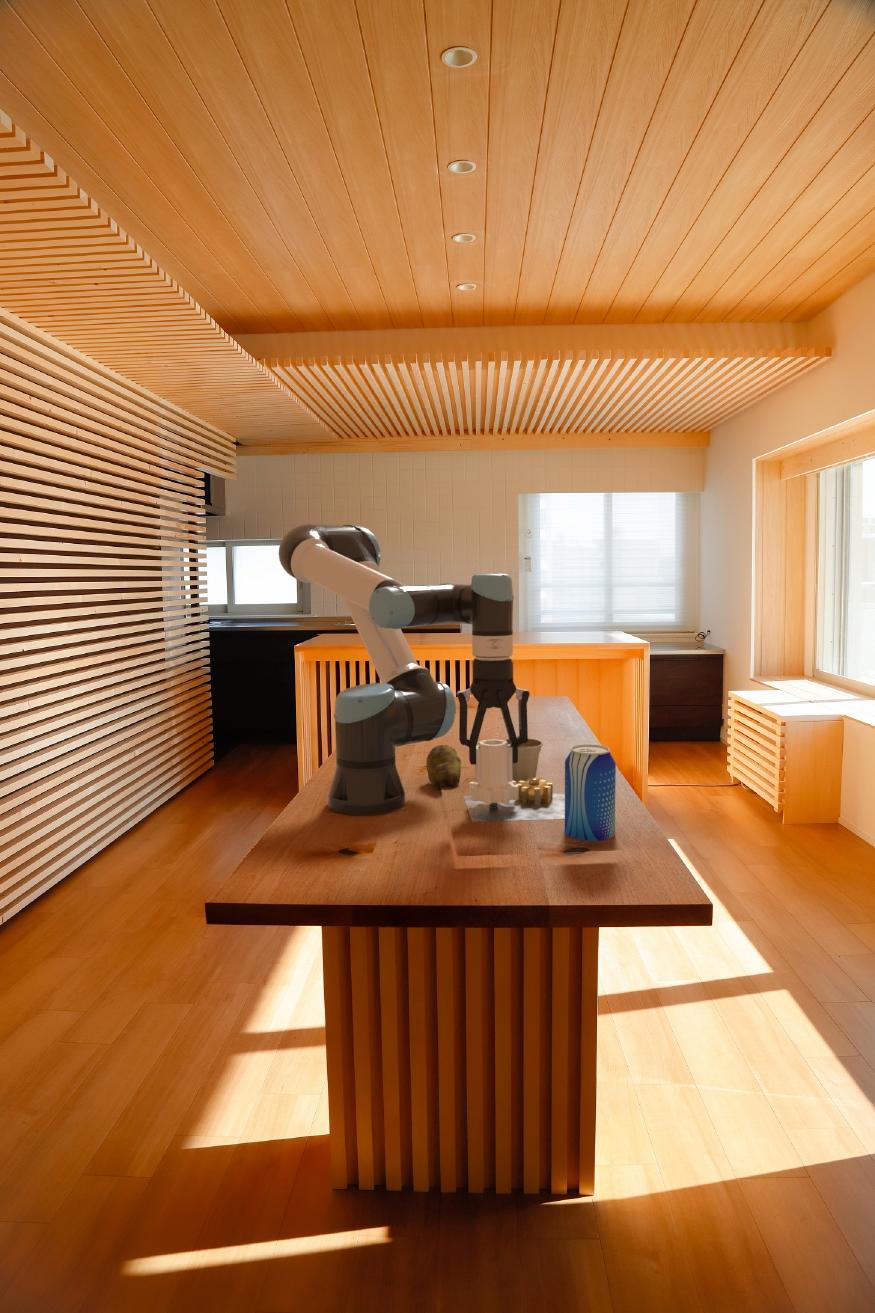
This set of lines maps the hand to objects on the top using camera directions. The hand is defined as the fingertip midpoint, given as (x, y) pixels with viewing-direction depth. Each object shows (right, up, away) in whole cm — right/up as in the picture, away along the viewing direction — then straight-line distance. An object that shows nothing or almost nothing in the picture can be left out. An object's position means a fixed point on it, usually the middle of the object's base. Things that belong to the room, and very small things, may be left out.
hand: (493, 780), depth 151 cm
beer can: (+15, -8, -14) cm, 22 cm away
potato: (-9, -5, +21) cm, 23 cm away
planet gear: (0, -3, 0) cm, 3 cm away
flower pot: (+8, -4, +23) cm, 25 cm away
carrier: (+6, -7, +1) cm, 9 cm away
